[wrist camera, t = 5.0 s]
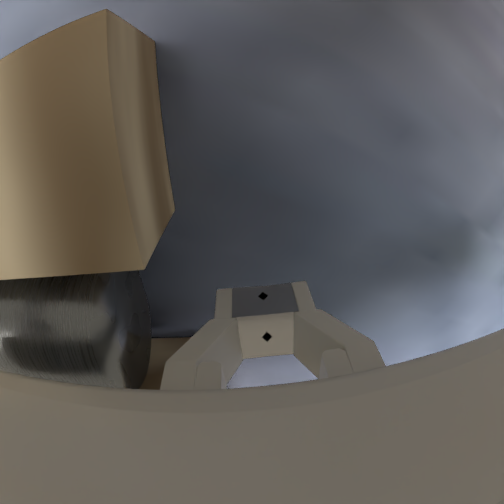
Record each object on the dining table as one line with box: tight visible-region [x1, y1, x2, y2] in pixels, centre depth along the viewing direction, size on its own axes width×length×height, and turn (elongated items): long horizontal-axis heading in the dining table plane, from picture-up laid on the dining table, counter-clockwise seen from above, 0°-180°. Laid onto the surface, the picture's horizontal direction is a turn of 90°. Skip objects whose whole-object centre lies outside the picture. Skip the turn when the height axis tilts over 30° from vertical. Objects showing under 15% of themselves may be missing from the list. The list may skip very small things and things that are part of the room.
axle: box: [0, 270, 151, 389], centre depth 9 cm, size 12×5×5 cm, turn 94°
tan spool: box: [0, 9, 191, 390], centre depth 10 cm, size 16×18×4 cm
